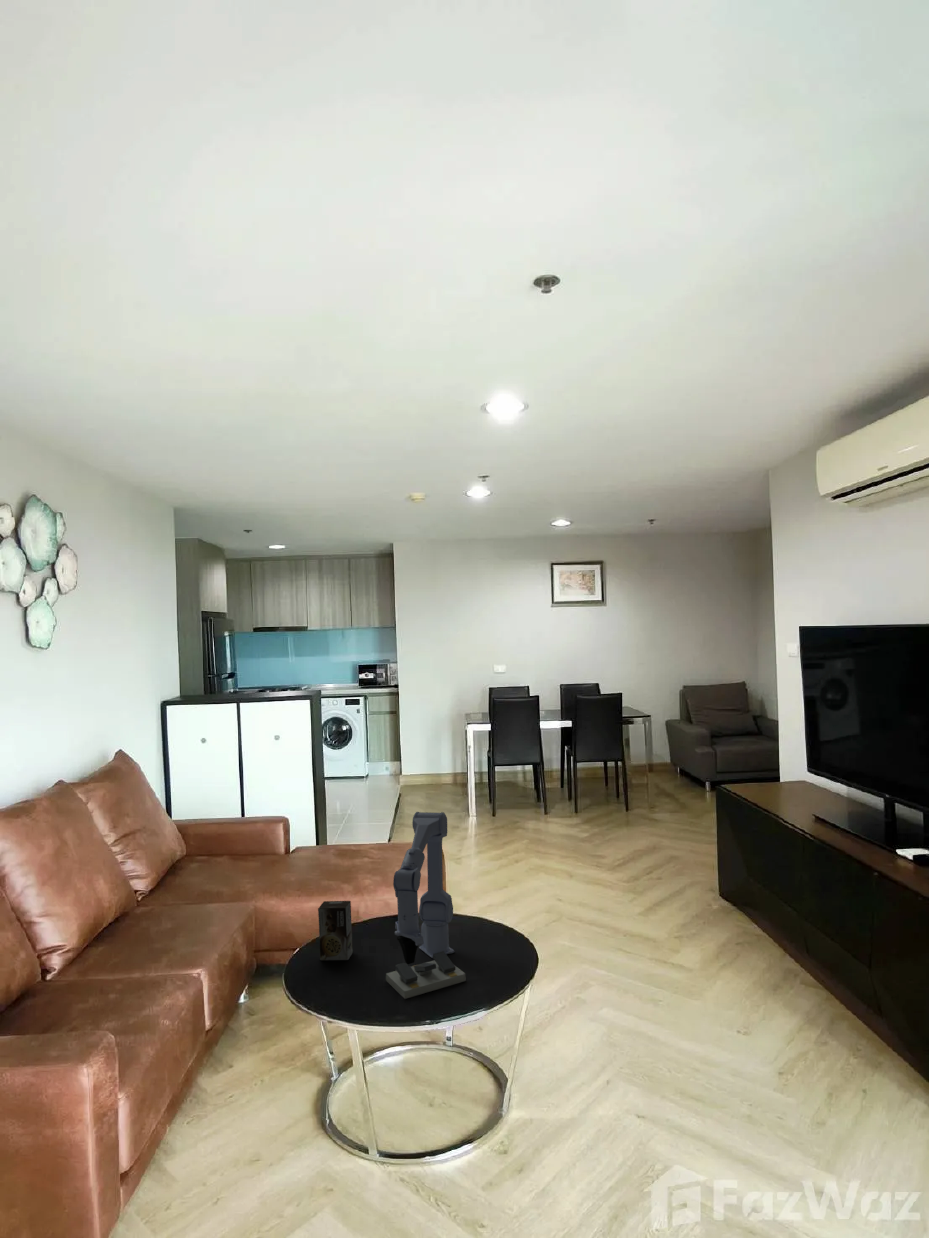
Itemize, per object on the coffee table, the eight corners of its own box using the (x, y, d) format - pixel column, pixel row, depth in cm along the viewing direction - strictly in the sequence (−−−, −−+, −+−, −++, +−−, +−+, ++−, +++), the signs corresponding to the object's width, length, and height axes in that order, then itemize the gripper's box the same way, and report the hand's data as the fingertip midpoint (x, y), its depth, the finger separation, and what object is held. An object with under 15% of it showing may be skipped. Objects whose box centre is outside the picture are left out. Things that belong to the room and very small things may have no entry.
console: (386, 980, 203) (385, 970, 204) (444, 964, 213) (444, 954, 213) (404, 998, 192) (404, 987, 192) (465, 980, 201) (465, 970, 201)
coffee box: (353, 951, 224) (351, 900, 225) (347, 960, 218) (346, 907, 219) (325, 951, 225) (323, 900, 226) (319, 960, 219) (317, 907, 220)
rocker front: (395, 968, 202) (395, 964, 202) (406, 965, 204) (406, 961, 204) (405, 983, 196) (406, 979, 195) (417, 980, 197) (417, 976, 197)
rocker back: (432, 957, 208) (433, 953, 208) (443, 954, 210) (443, 951, 209) (444, 973, 201) (444, 969, 201) (455, 970, 203) (455, 966, 203)
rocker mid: (414, 970, 205) (414, 965, 205) (425, 967, 206) (424, 962, 207) (425, 971, 199) (424, 966, 199) (436, 968, 200) (435, 963, 201)
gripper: (384, 908, 202) (386, 956, 202) (405, 924, 190) (407, 976, 189) (407, 903, 206) (408, 950, 205) (429, 918, 193) (431, 969, 193)
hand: (409, 962), depth 197 cm, fingers closed
